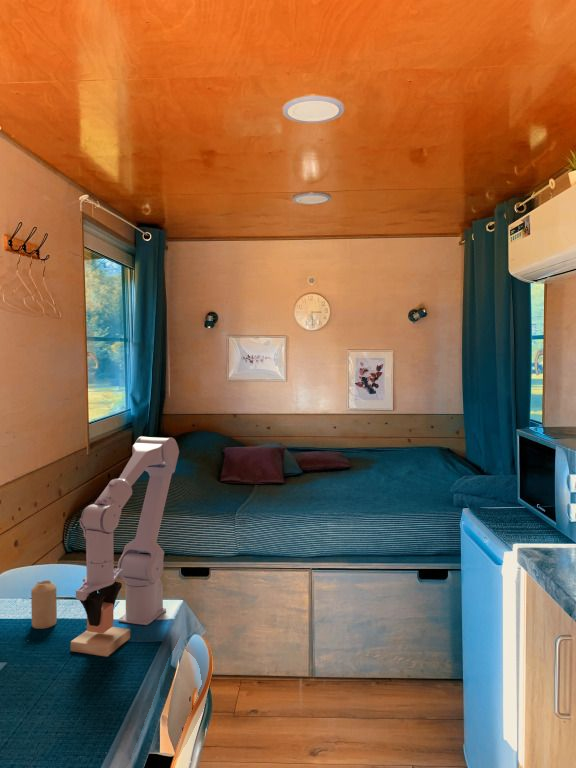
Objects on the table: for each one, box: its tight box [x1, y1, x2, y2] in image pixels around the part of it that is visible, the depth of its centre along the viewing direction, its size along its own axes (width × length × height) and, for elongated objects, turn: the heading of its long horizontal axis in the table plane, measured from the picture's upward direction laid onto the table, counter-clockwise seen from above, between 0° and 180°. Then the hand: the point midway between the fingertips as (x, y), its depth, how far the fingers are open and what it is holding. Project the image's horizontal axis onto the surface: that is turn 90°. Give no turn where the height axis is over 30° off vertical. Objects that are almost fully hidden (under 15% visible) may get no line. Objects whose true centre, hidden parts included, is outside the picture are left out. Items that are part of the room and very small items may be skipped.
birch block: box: [70, 626, 131, 657], centre depth 132 cm, size 9×9×2 cm
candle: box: [30, 580, 58, 630], centre depth 143 cm, size 6×6×10 cm
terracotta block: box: [86, 602, 115, 633], centre depth 132 cm, size 4×4×5 cm
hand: (100, 620), depth 132 cm, fingers closed on terracotta block, 4 cm apart
